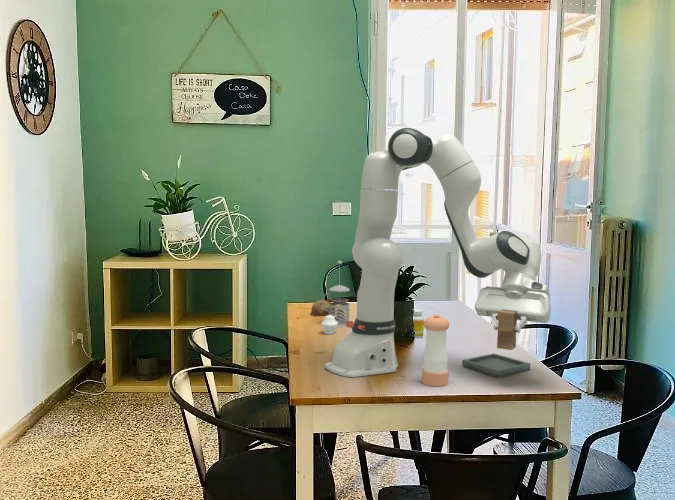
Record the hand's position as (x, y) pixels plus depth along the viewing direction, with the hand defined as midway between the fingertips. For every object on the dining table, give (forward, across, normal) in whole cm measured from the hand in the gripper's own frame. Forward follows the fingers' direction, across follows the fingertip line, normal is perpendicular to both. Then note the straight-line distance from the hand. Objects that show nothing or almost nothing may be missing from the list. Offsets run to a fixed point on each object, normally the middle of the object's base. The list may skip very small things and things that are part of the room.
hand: (506, 330), depth 177 cm
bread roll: (-29, -91, +52) cm, 109 cm away
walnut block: (+3, 0, +4) cm, 5 cm away
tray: (0, -7, +23) cm, 24 cm away
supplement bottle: (-18, -43, +40) cm, 61 cm away
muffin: (-9, -72, +32) cm, 79 cm away
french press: (-19, -77, +42) cm, 90 cm away
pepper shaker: (+16, -18, +7) cm, 25 cm away
